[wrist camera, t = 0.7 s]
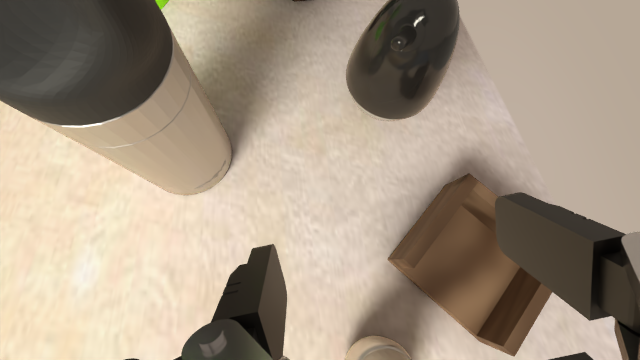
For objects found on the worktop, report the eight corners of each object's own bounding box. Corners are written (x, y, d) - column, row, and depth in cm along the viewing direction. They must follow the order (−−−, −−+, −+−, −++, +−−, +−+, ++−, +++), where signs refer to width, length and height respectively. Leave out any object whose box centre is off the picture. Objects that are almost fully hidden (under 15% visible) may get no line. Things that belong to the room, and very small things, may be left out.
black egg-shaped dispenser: (323, 101, 37) (343, -4, 22) (370, 46, 39) (415, -81, 25) (392, 150, 36) (460, 74, 21) (435, 90, 38) (522, -14, 24)
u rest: (387, 259, 32) (403, 259, 28) (445, 185, 35) (469, 173, 30) (480, 341, 31) (514, 356, 26) (532, 257, 34) (572, 257, 29)
